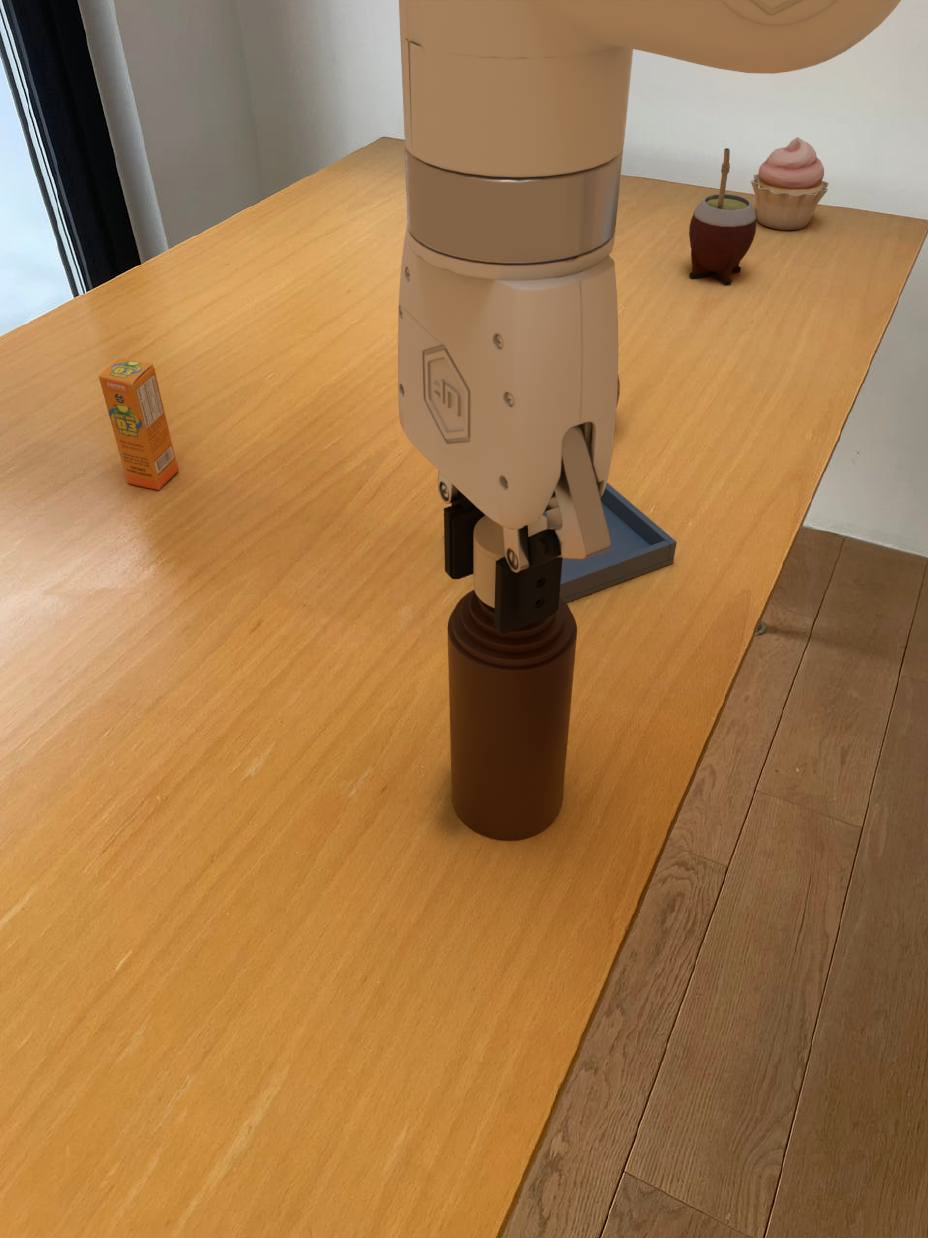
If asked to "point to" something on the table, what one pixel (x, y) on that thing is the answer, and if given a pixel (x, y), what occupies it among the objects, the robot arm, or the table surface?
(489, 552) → the cap
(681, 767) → the table surface
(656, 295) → the table surface
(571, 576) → the tray
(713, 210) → the mate gourd
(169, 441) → the supplement box
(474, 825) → the bottle
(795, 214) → the cupcake
